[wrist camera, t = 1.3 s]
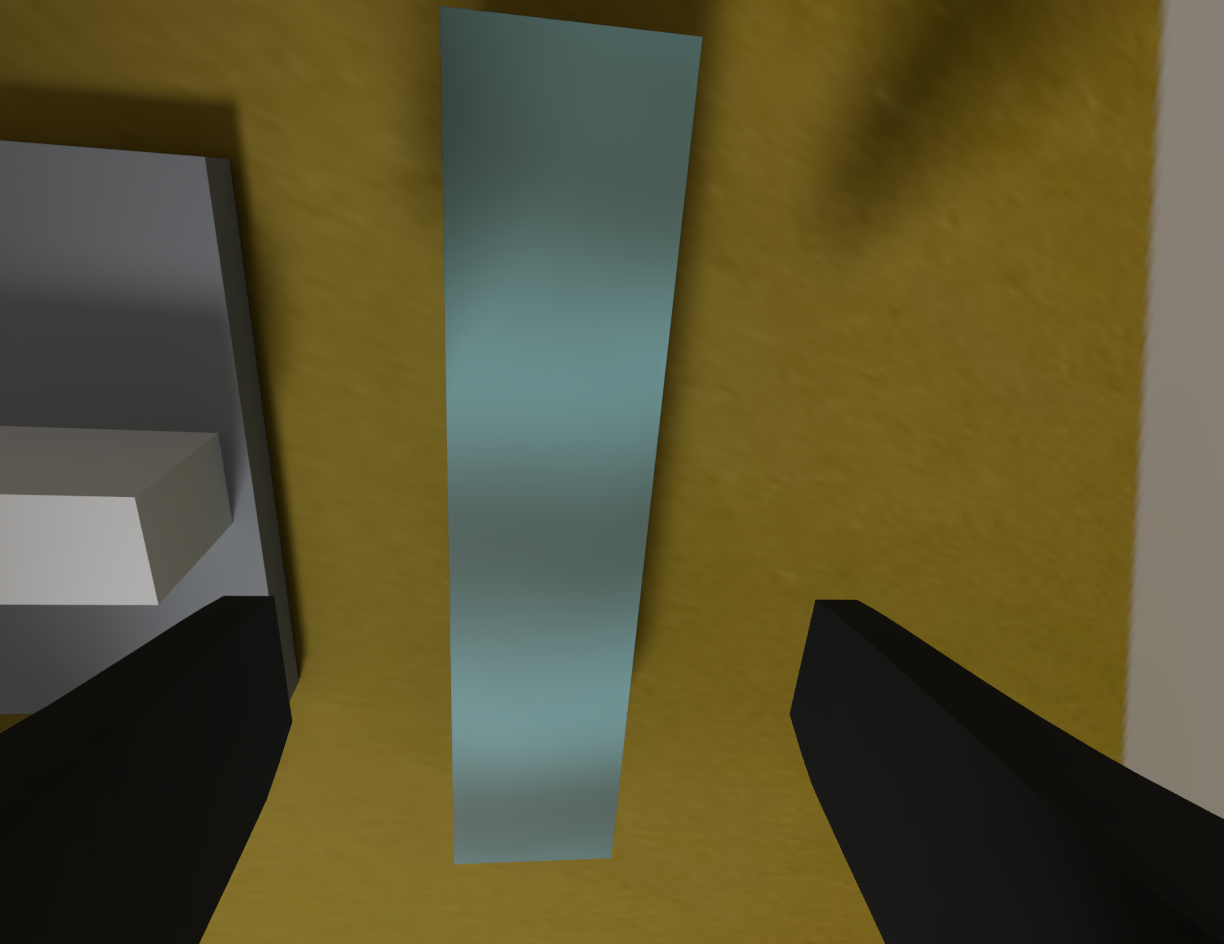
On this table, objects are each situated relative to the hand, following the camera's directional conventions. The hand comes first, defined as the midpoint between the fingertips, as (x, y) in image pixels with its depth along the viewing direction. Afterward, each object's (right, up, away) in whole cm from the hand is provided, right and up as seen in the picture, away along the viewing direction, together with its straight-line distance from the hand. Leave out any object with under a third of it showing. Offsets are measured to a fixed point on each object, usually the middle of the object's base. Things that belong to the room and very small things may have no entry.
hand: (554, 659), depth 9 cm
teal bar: (-1, +3, +7) cm, 7 cm away
